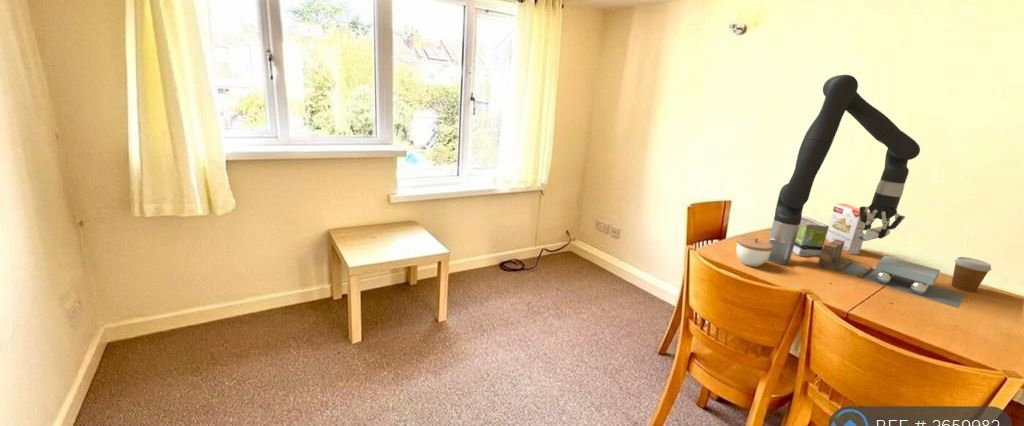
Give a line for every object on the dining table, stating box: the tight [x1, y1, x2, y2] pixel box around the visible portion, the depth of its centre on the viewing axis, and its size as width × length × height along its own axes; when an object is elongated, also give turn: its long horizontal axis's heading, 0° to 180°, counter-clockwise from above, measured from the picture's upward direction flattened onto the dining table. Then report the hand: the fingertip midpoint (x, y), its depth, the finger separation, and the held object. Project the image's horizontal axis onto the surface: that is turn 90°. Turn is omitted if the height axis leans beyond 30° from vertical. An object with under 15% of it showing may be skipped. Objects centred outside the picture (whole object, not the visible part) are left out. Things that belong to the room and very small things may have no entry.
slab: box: [875, 255, 941, 286], centre depth 159 cm, size 12×16×3 cm
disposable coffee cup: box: [950, 256, 992, 293], centre depth 158 cm, size 10×10×12 cm
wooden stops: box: [817, 239, 873, 279], centre depth 172 cm, size 18×14×9 cm
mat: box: [827, 258, 965, 309], centre depth 163 cm, size 18×38×1 cm, turn 39°
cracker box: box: [823, 203, 871, 256], centre depth 193 cm, size 14×6×21 cm, turn 5°
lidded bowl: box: [735, 236, 773, 268], centre depth 172 cm, size 13×13×11 cm
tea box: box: [792, 216, 829, 258], centre depth 190 cm, size 15×10×15 cm
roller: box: [858, 226, 891, 242], centre depth 163 cm, size 16×4×4 cm, turn 119°
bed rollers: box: [875, 271, 929, 296], centre depth 160 cm, size 16×14×4 cm
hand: (873, 235), depth 163 cm, fingers closed on roller, 4 cm apart
